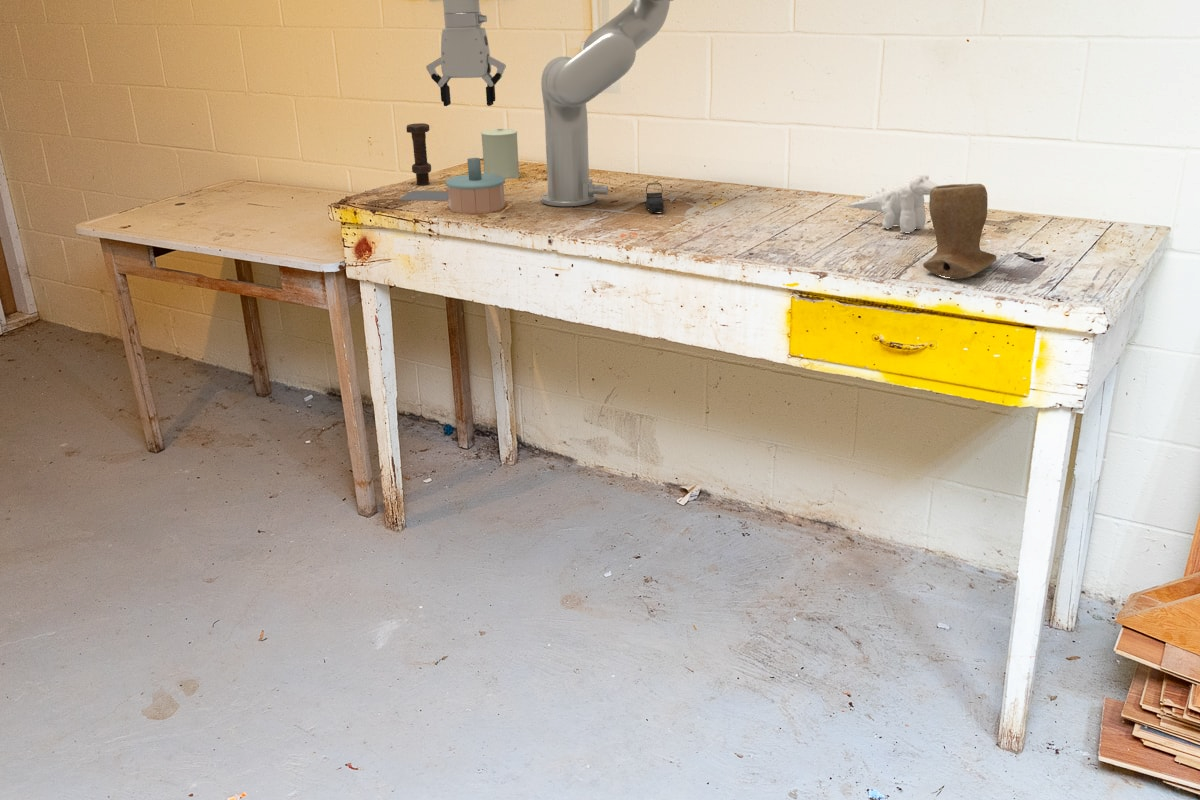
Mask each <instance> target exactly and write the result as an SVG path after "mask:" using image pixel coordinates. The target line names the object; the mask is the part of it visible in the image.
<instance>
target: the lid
mask: <svg viewBox="0 0 1200 800" xmlns="http://www.w3.org/2000/svg"><path fill="white" fill-rule="evenodd" d="M466 161H467V171H468V174H461V175H455V176H452V177H451V176H450V177H449V178H447V179H446V180H445V186H446V187H447V188H448V187H451V188H456V189H483V188H491V187H496V186H499V185H502V184H503V185H504V184H505V183H506V179H505V178H504V177H503V176H500V175H495V174H484V173H482V165H481V158H479V157H470V158H467V160H466Z"/></svg>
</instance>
